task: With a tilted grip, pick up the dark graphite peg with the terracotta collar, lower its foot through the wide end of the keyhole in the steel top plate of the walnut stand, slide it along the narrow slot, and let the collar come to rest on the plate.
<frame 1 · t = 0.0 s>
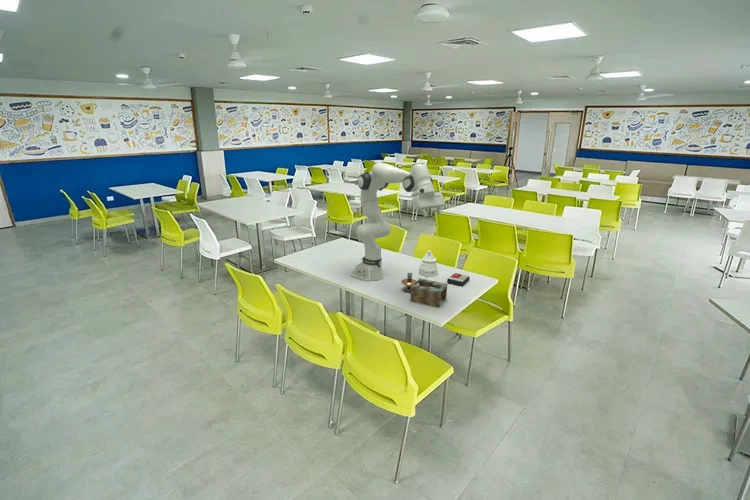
hand: (432, 215, 207), 54 cm above the table, tool tilted 30°, fingers open, 8 cm apart
white ridged cone: (427, 274, 275), on the table
keyhole stand: (428, 300, 232), on the table
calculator: (458, 282, 262), on the table
keyhole peg: (408, 290, 246), on the table
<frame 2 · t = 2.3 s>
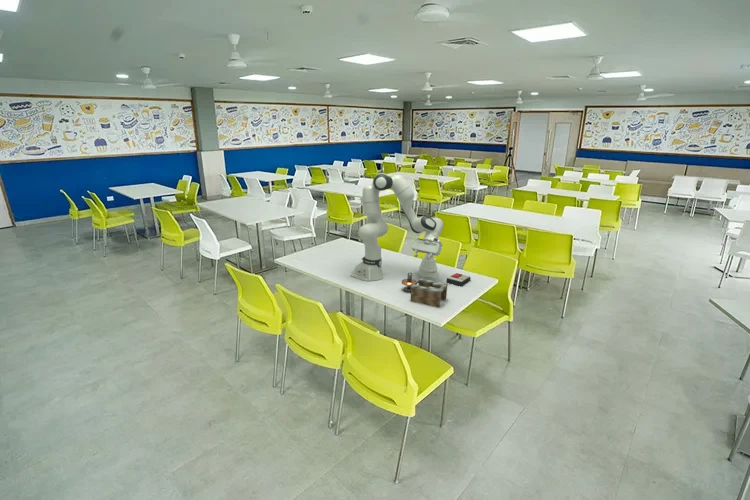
hand: (421, 258, 249), 19 cm above the table, tool tilted 45°, fingers open, 8 cm apart
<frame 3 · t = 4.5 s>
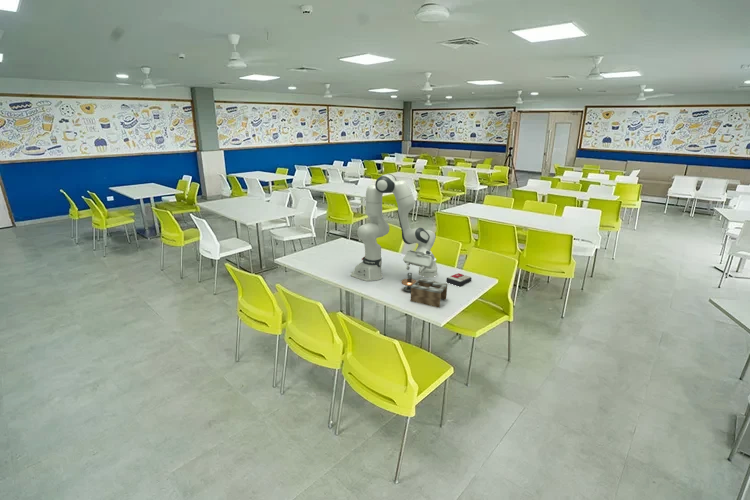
hand: (413, 270, 245), 12 cm above the table, tool tilted 45°, fingers open, 8 cm apart
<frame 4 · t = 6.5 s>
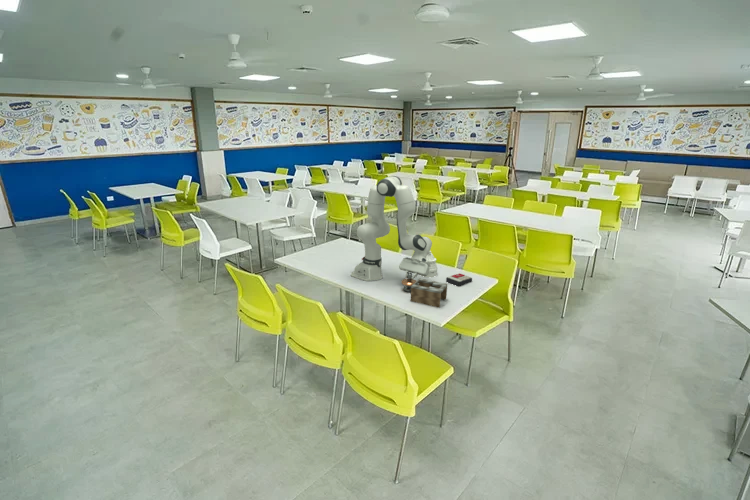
hand: (409, 278, 243), 8 cm above the table, tool tilted 45°, fingers closed on keyhole peg, 3 cm apart
keyhole peg: (408, 290, 246), on the table, touching gripper
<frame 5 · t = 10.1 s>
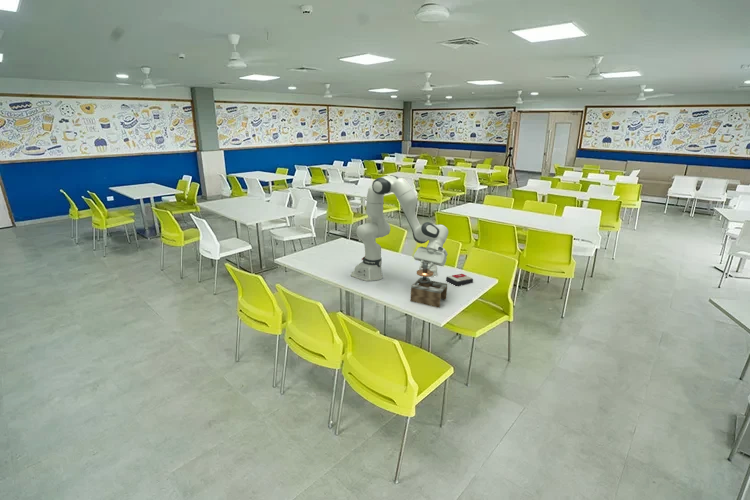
hand: (424, 268, 227), 20 cm above the table, tool tilted 45°, fingers closed on keyhole peg, 3 cm apart
keyhole peg: (424, 281, 230), point 11 cm above the table, touching gripper
when the fingers open (14 cm above the table, at t = 13.6 s): keyhole peg stays where it is, resting on keyhole stand.
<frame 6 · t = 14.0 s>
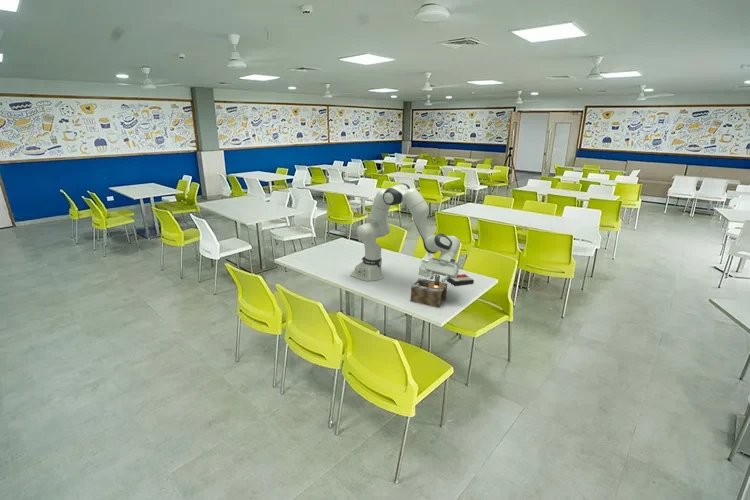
hand: (436, 280, 226), 14 cm above the table, tool tilted 45°, fingers open, 6 cm apart
keyhole peg: (436, 293, 229), point 5 cm above the table, touching keyhole stand
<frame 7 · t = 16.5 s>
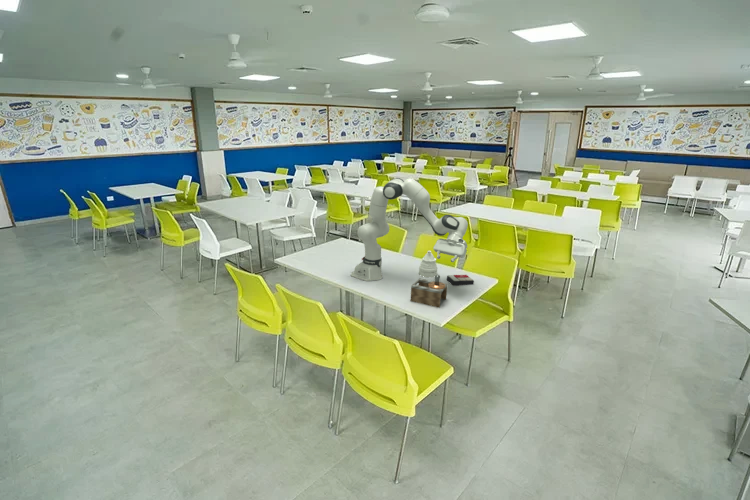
hand: (444, 260, 231), 24 cm above the table, tool tilted 45°, fingers open, 8 cm apart
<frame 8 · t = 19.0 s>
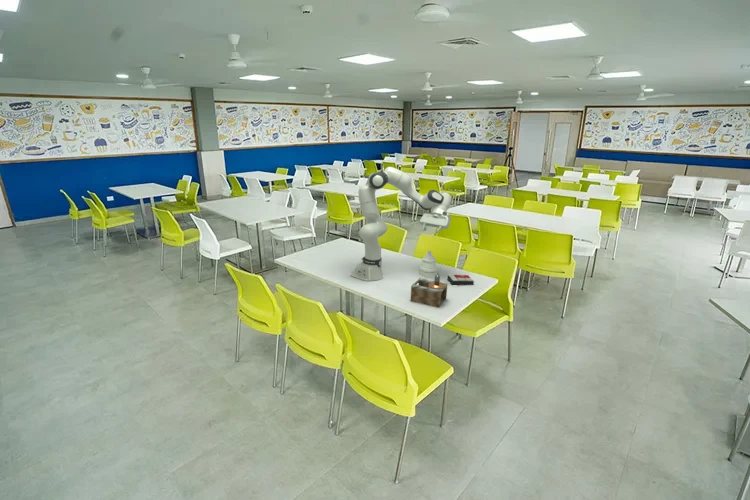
hand: (430, 231, 251), 35 cm above the table, tool tilted 45°, fingers open, 8 cm apart
at the end: keyhole peg 0.3 cm from the target spot on the keyhole stand, point 5.0 cm above the keyhole stand's base; keyhole peg tilted 0°; the gripper is holding nothing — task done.
